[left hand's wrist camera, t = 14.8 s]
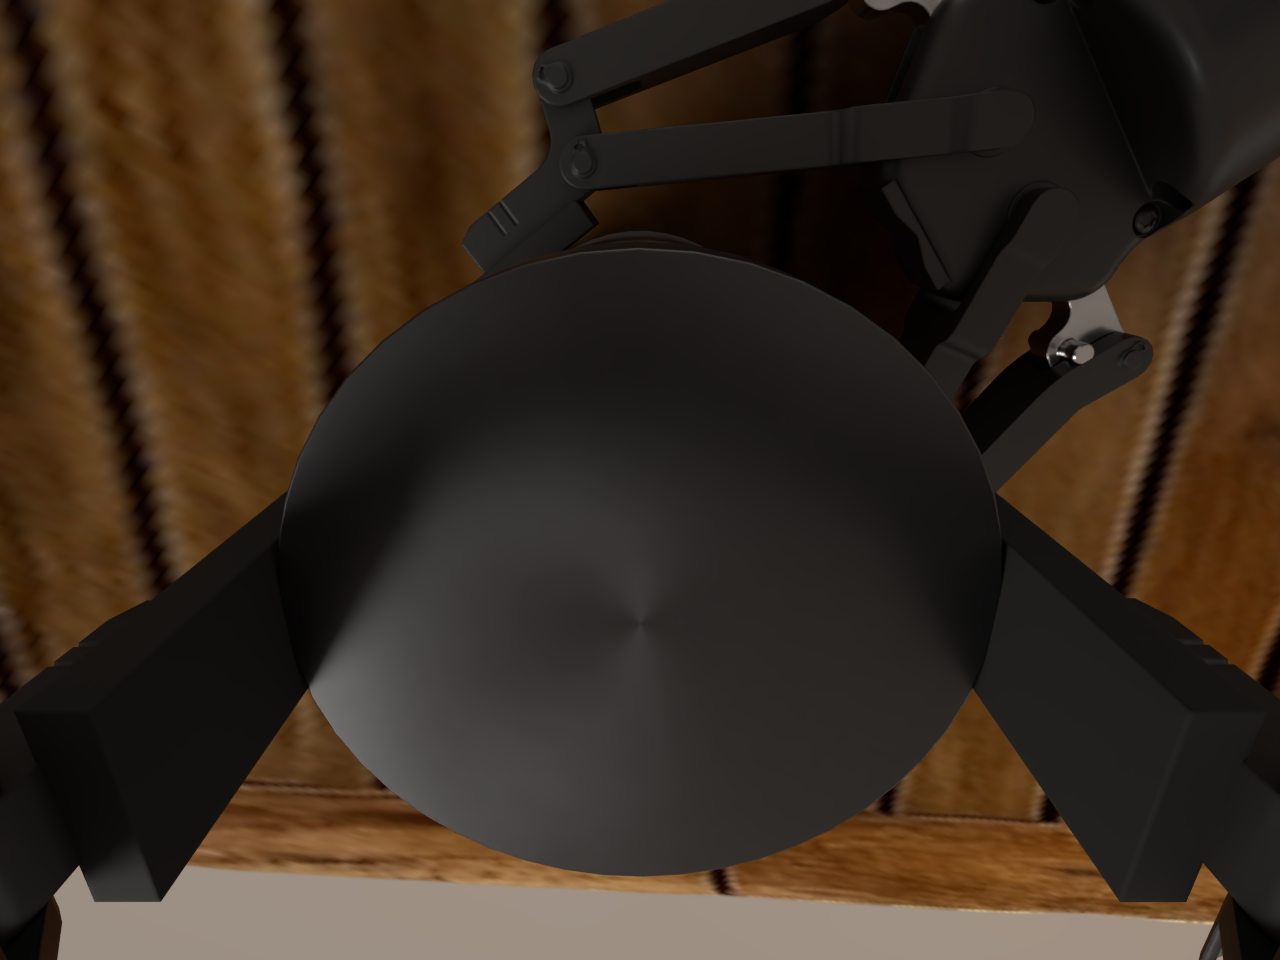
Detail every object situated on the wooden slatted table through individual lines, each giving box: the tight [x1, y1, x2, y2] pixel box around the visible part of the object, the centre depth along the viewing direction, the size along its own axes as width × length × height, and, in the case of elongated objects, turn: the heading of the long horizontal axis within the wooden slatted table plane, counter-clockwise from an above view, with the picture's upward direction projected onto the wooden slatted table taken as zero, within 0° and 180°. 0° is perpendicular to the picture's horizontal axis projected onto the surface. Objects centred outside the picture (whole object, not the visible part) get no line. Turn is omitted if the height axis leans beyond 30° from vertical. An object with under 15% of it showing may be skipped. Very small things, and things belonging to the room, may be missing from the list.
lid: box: [278, 241, 1003, 876], centre depth 11 cm, size 11×11×2 cm
